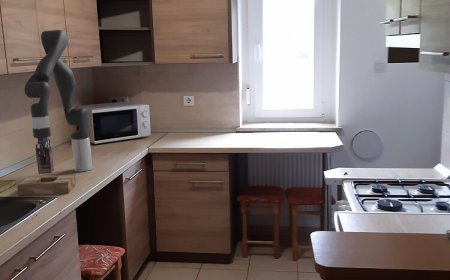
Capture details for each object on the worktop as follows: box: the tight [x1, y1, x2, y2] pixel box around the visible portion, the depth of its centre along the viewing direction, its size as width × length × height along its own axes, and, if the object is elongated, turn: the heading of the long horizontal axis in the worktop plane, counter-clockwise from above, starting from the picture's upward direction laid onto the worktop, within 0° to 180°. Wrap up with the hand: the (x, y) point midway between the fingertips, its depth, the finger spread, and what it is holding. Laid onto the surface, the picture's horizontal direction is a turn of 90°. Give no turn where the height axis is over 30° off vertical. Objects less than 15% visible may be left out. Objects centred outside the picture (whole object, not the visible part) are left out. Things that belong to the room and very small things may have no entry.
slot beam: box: [16, 174, 77, 197], centre depth 220 cm, size 14×22×5 cm, turn 94°
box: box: [35, 145, 55, 175], centre depth 218 cm, size 6×4×12 cm
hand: (45, 163), depth 218 cm, fingers closed on box, 4 cm apart
